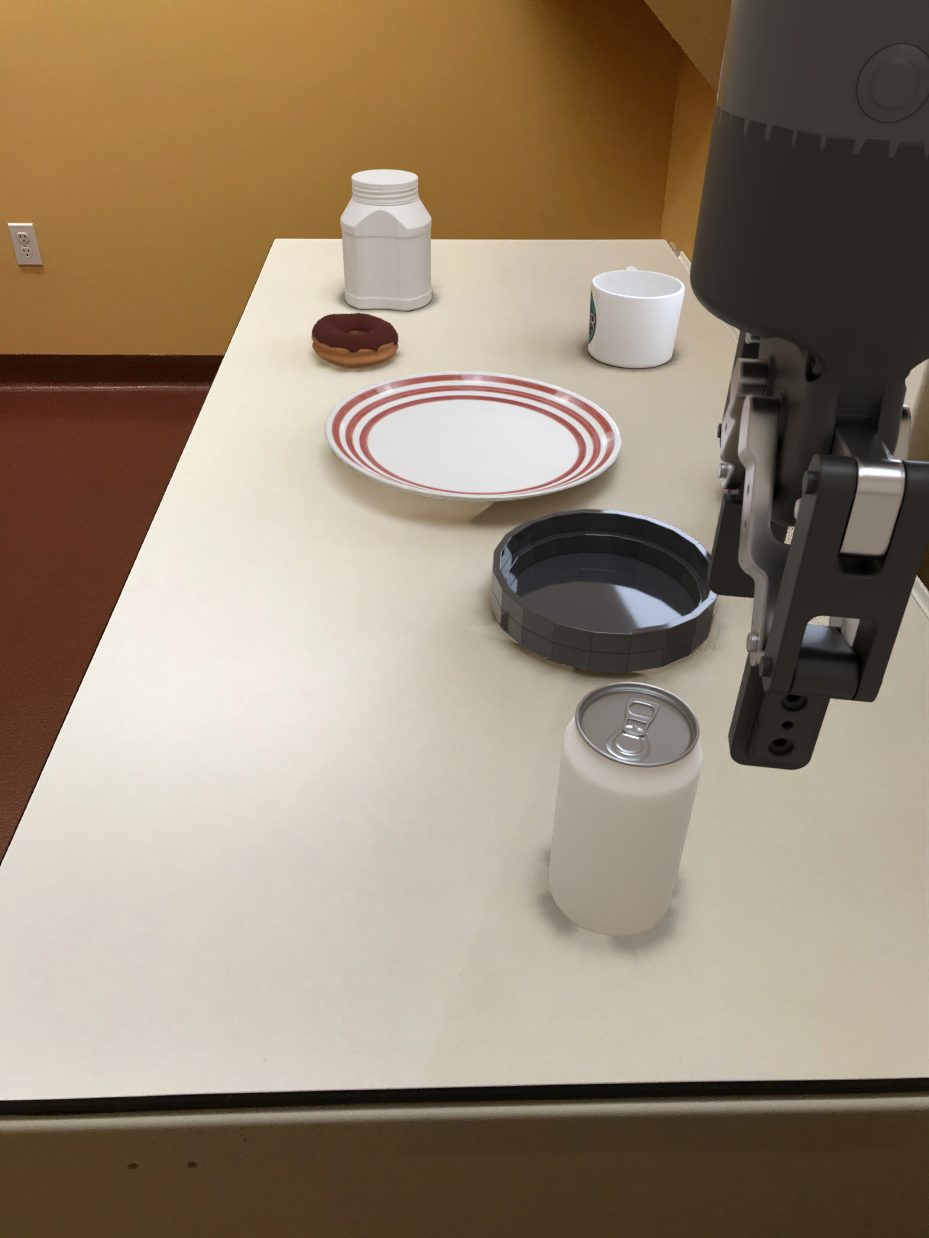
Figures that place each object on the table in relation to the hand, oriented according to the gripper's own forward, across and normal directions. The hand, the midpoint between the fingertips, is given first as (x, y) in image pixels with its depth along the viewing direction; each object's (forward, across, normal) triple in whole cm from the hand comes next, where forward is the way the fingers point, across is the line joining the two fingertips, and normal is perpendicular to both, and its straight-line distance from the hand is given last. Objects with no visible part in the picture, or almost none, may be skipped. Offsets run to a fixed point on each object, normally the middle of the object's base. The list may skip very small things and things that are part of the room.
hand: (749, 665), depth 31 cm
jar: (+22, +100, +33) cm, 108 cm away
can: (+22, +8, +2) cm, 24 cm away
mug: (+22, +88, +1) cm, 90 cm away
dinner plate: (+22, +57, +16) cm, 63 cm away
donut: (+22, +80, +32) cm, 89 cm away
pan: (+22, +34, +3) cm, 40 cm away
